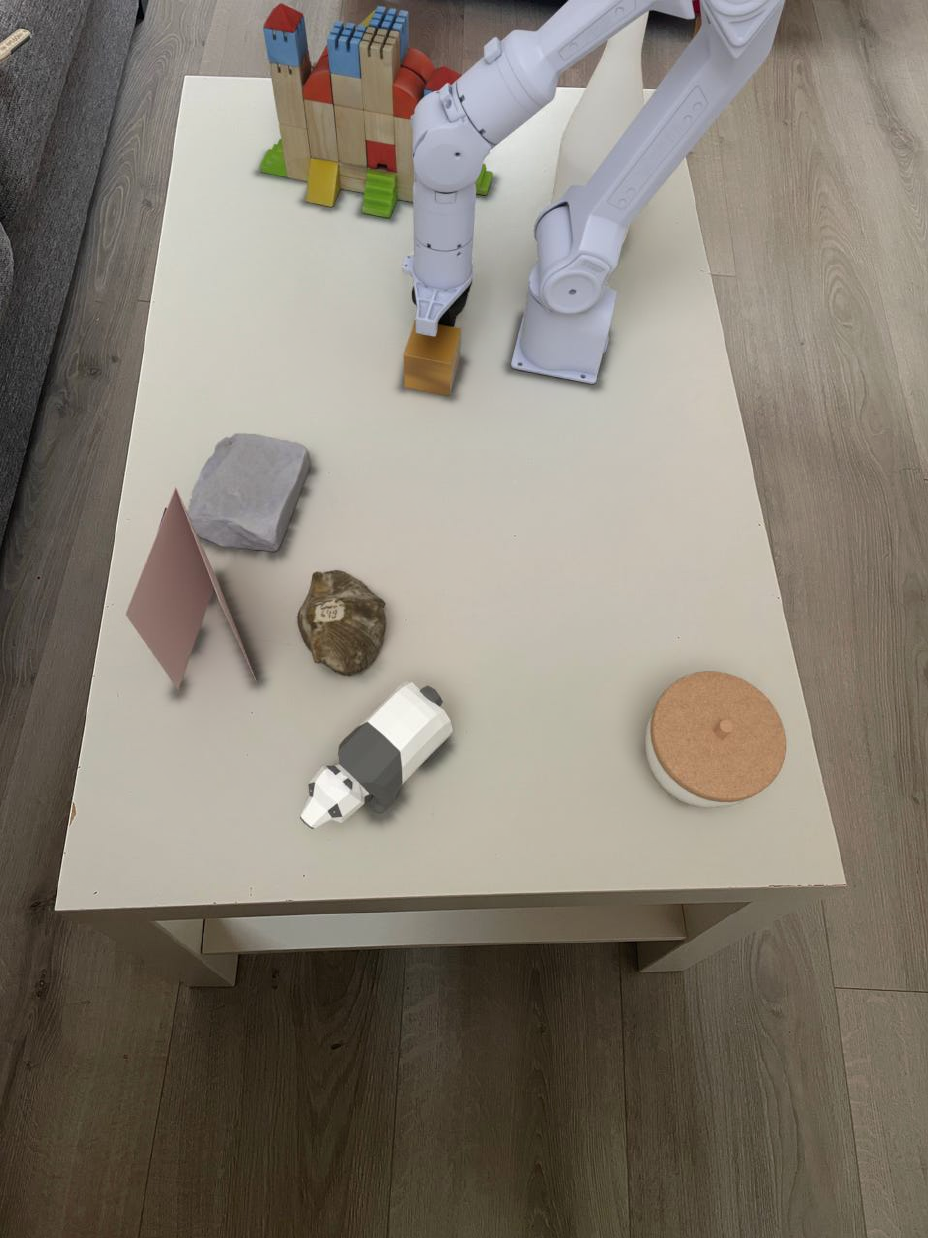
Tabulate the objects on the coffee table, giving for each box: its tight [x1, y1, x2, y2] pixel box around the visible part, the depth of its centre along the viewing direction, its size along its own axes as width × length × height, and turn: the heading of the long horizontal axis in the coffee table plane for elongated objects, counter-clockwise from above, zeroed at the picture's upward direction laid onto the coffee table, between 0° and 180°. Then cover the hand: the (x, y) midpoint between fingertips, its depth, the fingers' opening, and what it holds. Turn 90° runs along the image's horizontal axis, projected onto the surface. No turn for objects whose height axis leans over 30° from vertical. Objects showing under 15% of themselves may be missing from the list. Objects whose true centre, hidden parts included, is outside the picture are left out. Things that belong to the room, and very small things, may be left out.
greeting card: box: [124, 486, 258, 691], centre depth 71 cm, size 11×7×15 cm, turn 170°
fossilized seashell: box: [296, 569, 387, 677], centre depth 76 cm, size 8×7×10 cm
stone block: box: [186, 432, 311, 553], centre depth 83 cm, size 12×5×10 cm
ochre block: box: [403, 319, 462, 397], centre depth 91 cm, size 5×5×5 cm
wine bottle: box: [550, 11, 650, 244], centre depth 90 cm, size 10×10×30 cm
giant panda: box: [299, 681, 454, 830], centre depth 68 cm, size 15×6×10 cm, turn 138°
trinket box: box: [644, 670, 787, 809], centre depth 70 cm, size 11×11×9 cm
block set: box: [259, 3, 493, 218], centre depth 98 cm, size 28×14×19 cm, turn 77°
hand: (440, 336), depth 93 cm, fingers closed
